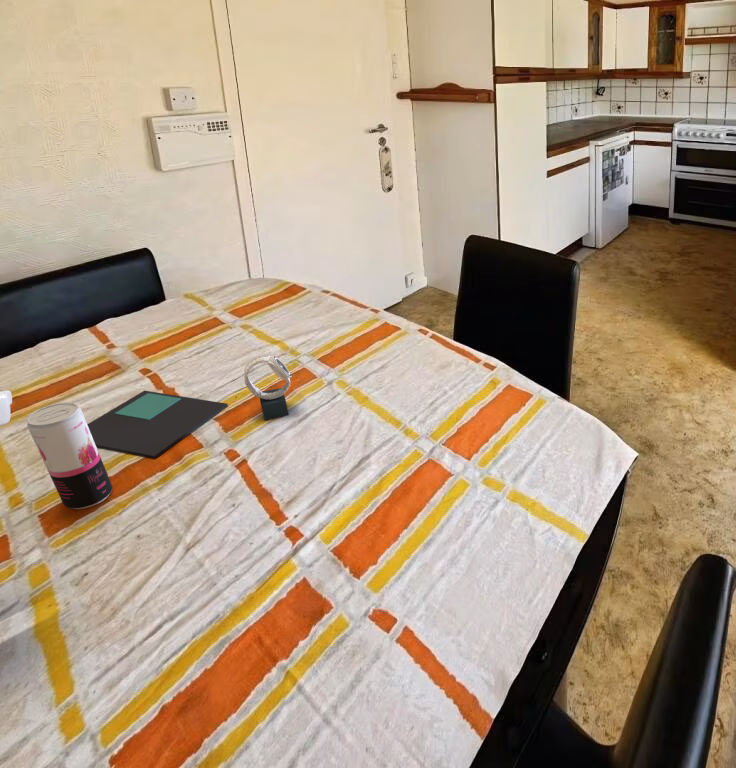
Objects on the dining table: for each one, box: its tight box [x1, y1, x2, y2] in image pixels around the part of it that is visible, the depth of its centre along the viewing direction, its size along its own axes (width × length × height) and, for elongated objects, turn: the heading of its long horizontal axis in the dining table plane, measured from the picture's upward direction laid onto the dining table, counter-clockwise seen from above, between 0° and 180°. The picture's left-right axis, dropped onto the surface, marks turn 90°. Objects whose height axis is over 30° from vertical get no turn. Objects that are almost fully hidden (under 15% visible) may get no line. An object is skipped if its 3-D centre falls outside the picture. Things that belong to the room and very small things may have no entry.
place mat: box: [87, 390, 229, 460], centre depth 114 cm, size 20×18×1 cm
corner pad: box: [115, 393, 181, 420], centre depth 118 cm, size 8×8×1 cm
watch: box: [243, 355, 292, 421], centre depth 115 cm, size 6×8×11 cm
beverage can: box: [26, 401, 113, 510], centre depth 92 cm, size 6×6×15 cm
